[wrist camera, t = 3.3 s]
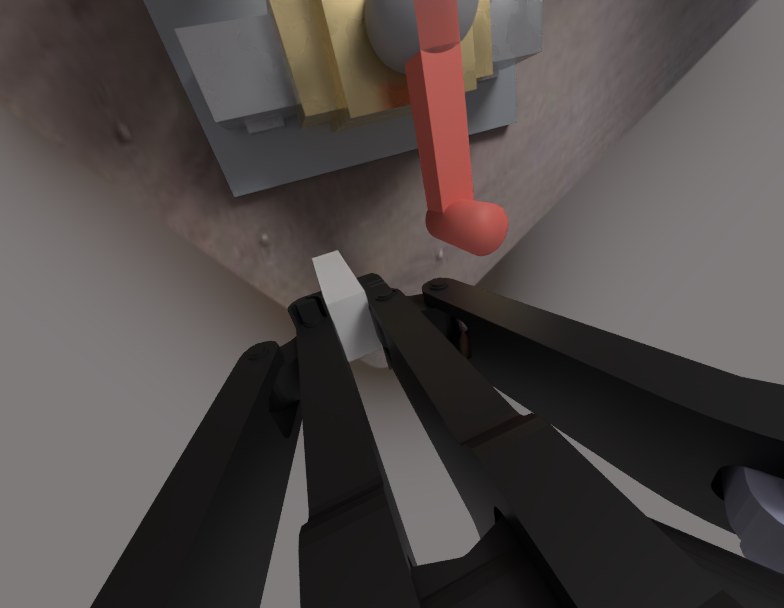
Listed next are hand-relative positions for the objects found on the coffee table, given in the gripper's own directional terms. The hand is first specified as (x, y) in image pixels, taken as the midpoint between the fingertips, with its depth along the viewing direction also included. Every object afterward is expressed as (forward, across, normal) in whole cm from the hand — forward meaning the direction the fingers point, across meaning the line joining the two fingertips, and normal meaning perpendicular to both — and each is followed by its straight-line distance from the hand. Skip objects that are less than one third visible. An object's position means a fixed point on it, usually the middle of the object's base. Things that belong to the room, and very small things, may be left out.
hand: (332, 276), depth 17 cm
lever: (+2, +8, +6) cm, 10 cm away
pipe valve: (+10, +8, +11) cm, 17 cm away
